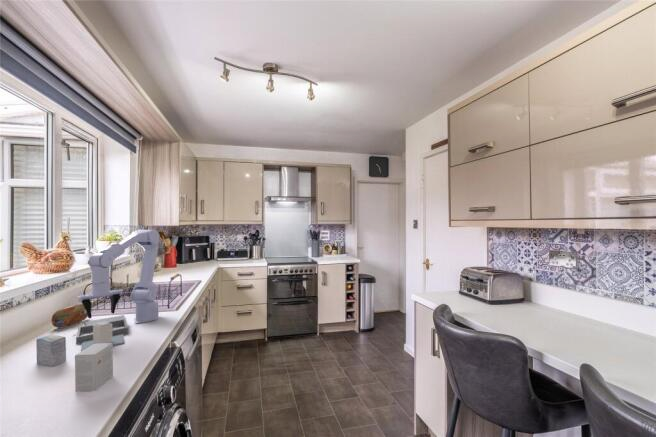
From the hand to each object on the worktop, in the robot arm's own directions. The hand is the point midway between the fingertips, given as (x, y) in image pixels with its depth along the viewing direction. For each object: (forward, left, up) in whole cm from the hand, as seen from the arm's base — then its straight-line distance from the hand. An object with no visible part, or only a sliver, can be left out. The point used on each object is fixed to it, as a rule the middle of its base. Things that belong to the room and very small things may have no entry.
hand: (101, 315), depth 120 cm
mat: (0, +7, -10) cm, 12 cm away
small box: (+2, +41, -10) cm, 42 cm away
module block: (0, +7, -9) cm, 11 cm away
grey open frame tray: (0, -13, -10) cm, 16 cm away
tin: (+12, -31, -10) cm, 34 cm away
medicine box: (+14, +15, -10) cm, 23 cm away
